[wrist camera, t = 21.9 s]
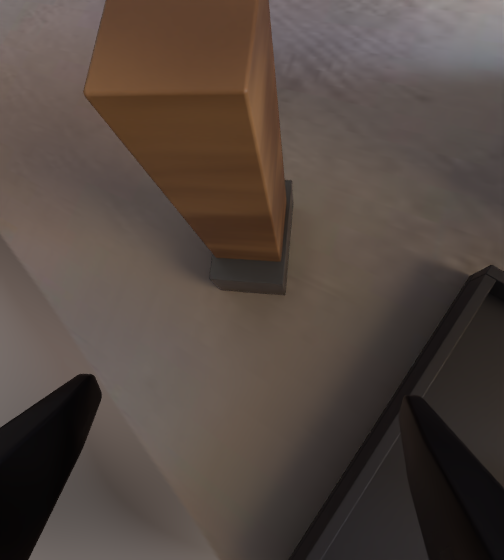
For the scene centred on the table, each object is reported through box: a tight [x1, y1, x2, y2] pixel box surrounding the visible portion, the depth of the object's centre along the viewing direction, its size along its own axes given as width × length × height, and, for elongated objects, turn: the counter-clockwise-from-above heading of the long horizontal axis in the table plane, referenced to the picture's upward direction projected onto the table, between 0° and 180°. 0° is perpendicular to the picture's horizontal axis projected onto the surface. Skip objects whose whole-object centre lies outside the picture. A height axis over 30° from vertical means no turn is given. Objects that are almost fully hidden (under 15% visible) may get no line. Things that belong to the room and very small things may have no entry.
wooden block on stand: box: [83, 0, 293, 295], centre depth 15 cm, size 6×4×15 cm, turn 174°
